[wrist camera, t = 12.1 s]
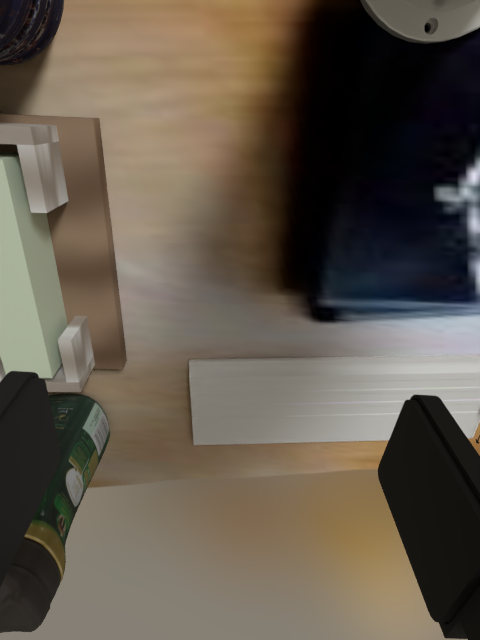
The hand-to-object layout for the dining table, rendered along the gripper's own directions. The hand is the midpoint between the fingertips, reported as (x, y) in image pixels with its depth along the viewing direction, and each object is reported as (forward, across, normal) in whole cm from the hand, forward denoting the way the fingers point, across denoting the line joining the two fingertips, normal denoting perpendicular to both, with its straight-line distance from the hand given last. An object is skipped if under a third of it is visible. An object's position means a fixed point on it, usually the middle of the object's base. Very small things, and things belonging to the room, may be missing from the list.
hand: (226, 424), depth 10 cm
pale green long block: (+21, +15, +5) cm, 27 cm away
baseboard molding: (+24, -13, +18) cm, 33 cm away
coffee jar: (+22, +16, +23) cm, 36 cm away
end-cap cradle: (+23, +15, +5) cm, 28 cm away
